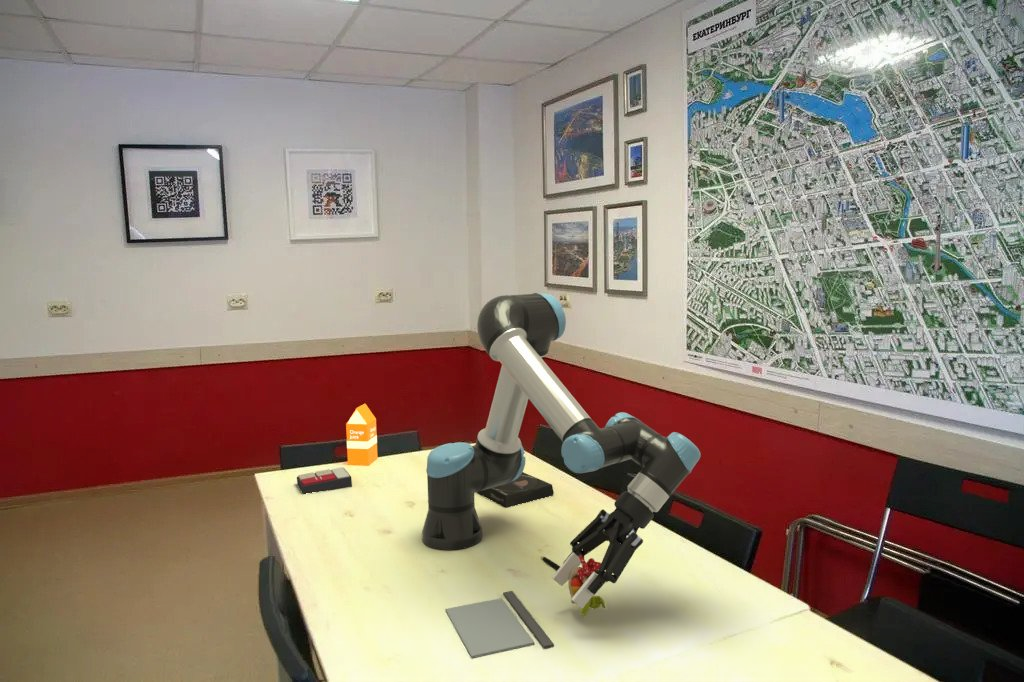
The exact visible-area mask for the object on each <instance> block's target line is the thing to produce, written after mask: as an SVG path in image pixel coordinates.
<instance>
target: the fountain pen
mask: <svg viewBox="0 0 1024 682" xmlns="http://www.w3.org/2000/svg"><path fill="white" fill-rule="evenodd" d="M540 558H542V560H543V561H544V562H545V563H546V564H548V565H549V566H551V567H552V568H553V569H554V568H555V569H554V570H556V571H557V570H558V569H559V568H560V567H561V566H560V565H558V564H557V563H556V562H554V561H552V560H551V559H549V558H547V557H545V556H542V555H540Z"/></svg>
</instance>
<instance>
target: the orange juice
mask: <svg viewBox="0 0 1024 682" xmlns="http://www.w3.org/2000/svg"><path fill="white" fill-rule="evenodd" d="M345 427H346V428H345V429H346V431H345V432H346V449H347V451H346V452H347V453H346V454H347V466H357V467H358V466H362V467H365V466H367V467H368V466H370V465H371V464H373V463H374V462H375V461H377V460H378V435H377V418H376V417H375V415H374V414H373V413H372V411H371V410H370V408H369V407H368V405H367V404H366V403H364V404H362V405H359V406H358V407H356V408H355V410H354V411H353V413H352V415H351V416H350V418H349V420H348V421H347V422H346V423H345Z"/></svg>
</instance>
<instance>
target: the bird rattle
mask: <svg viewBox="0 0 1024 682" xmlns="http://www.w3.org/2000/svg"><path fill="white" fill-rule="evenodd" d="M579 559H580V561H581V564H580V565H581V566H578V567H577V568H574V569H573V570H572V571H571V573H570V575H569V579H568V591H569V594H570V599H571V604H572V605H573V604H574V605H577V604H576V603H575V602H574V601H573V600H572V598H573V596H574V595H575V594H576V593H577V591H578V590H579V589H580V588H581V586H582V585H583V584H584V583H585V582H586V580H587V579H588V578H589V577H590V575H591V574H592V573H593V572H595V570H599V567H600V565H601V562H600V561H596V560H595V559H594V558H592V557H590V558H589V559H588V560H587V561H586V559H585V557H584V558H583V557H582V555H579ZM605 603H606V602H605V600H604V598H603V597H601V596H599V595H593V596H592V597H591V599H590V600H589V601H588V602H587V604H586V605H585V606H584V607H583V608H581V607H580V615H583V617H584V618H585V617H586V616H587V615H588V612H589V610H590V609H593V610H597V609H599V608H600V606H601V607H602V608H603V610H607V606H606V604H605Z"/></svg>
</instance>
